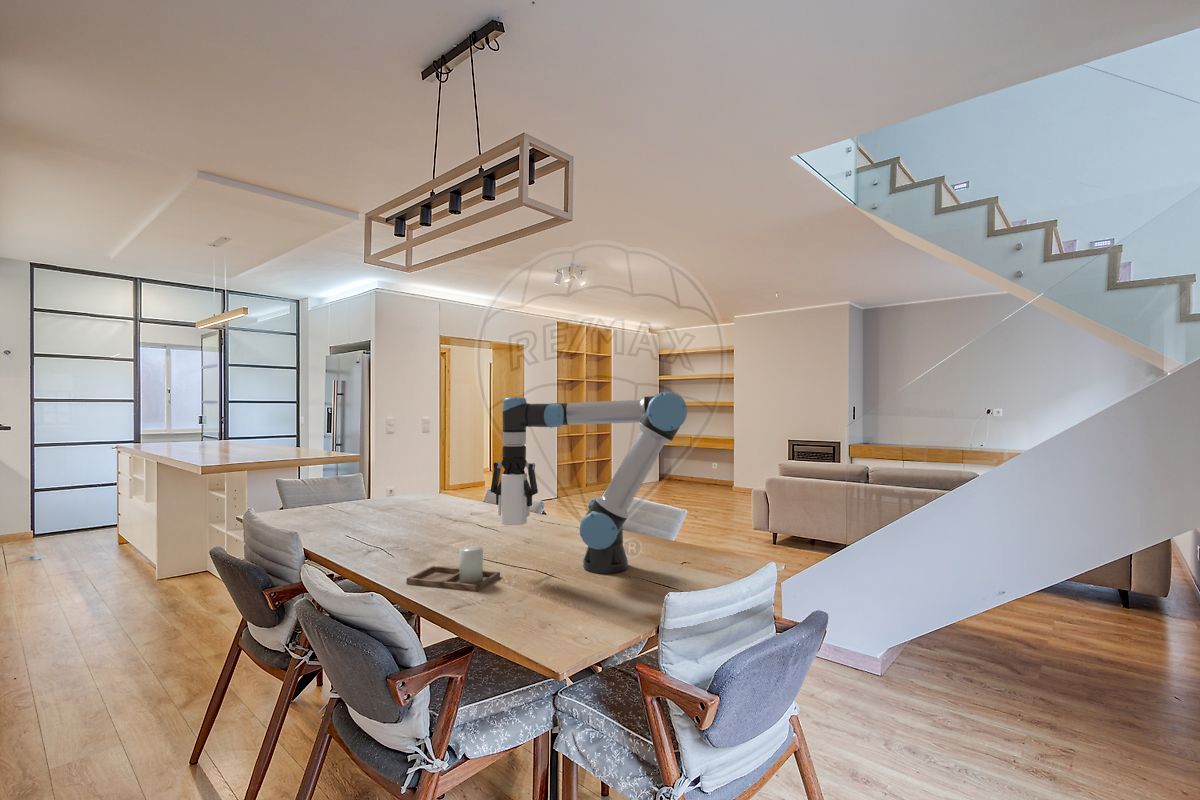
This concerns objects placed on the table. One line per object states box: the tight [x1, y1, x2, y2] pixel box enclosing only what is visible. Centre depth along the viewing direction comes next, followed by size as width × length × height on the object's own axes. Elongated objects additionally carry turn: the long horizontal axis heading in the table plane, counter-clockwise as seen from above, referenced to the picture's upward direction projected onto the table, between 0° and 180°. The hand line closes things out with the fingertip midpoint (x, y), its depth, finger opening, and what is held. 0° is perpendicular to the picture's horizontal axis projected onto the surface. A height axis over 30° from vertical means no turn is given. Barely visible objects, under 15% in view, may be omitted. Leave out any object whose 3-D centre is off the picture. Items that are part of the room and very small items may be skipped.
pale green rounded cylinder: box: [458, 545, 484, 585], centre depth 172 cm, size 7×7×10 cm
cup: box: [500, 471, 528, 526], centre depth 182 cm, size 8×8×16 cm
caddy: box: [406, 565, 501, 592], centre depth 173 cm, size 24×14×2 cm, turn 74°
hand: (513, 515), depth 182 cm, fingers closed on cup, 8 cm apart
